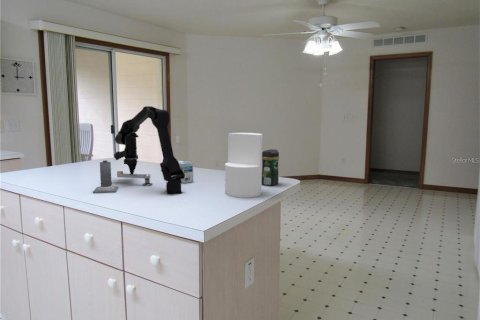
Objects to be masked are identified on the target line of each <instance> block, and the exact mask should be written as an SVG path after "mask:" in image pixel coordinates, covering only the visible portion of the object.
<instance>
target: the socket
mask: <svg viewBox="0 0 480 320" xmlns="http://www.w3.org/2000/svg"><path fill="white" fill-rule="evenodd" d="M119 187H120V186H118V185H115V186H114V185H113V188H112V189H108V190H101V189H100V186H96V187H95V188H94V190H93V191H92V194H109V193H110V194H111V193H113V194H114V193H117V191H118V189H119Z"/></svg>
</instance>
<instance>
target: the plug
mask: <svg viewBox="0 0 480 320" xmlns="http://www.w3.org/2000/svg"><path fill="white" fill-rule="evenodd" d="M111 164H112V163H111V161H108V160H107V159H106V160H103V161H101V162H99V176H100V177H99V178H100V185H99V187H100V189H101V190H108V189H112V188H113V186H114V185H113V183H112V166H111Z"/></svg>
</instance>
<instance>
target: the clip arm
mask: <svg viewBox="0 0 480 320" xmlns="http://www.w3.org/2000/svg"><path fill="white" fill-rule="evenodd" d="M116 177H117V178H122V179H123V178H125V179H126V178H127V179H129V178H131V179H143V180H145V179H150V180H151V173H133V174H130V173H124V171H122V170H118V171H116Z"/></svg>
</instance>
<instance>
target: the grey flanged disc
mask: <svg viewBox="0 0 480 320" xmlns="http://www.w3.org/2000/svg"><path fill="white" fill-rule="evenodd" d="M143 186H144V187H151V186H153V183H152V182H151V178H150V179H144V182H143V183H142V187H143Z"/></svg>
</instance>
